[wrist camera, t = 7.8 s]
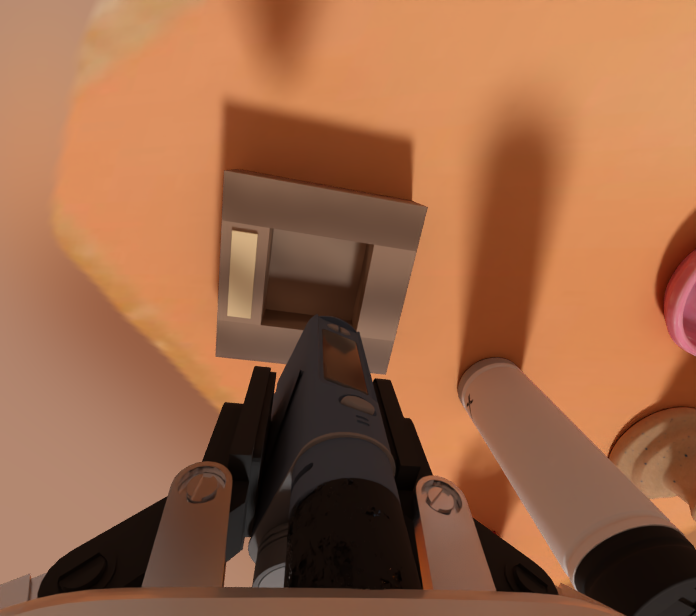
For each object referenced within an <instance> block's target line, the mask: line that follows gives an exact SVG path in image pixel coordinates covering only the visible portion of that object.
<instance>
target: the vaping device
mask: <svg viewBox="0 0 696 616" xmlns="http://www.w3.org/2000/svg"><path fill="white" fill-rule="evenodd" d="M394 476H395V462H394V459H393V457H392V455H391V451H390V447H389V444H388V440H387V436H386V432H385V428H384V424H383V421H382V417H381V413H380V409H379V405H378V401H377V398H376V394H375V390H374V386H373V382H372V378H371V375H370V371H369V367H368V363H367V359H366V355H365V351H364V348H363V344H362V340H361V336H360V332H356V330H355V329H354V328H353V327H352V326H351V325H350V324H349V323H347V322H345V321H343V320H341V319H339V318H336V317H332V316H318V314H316V315H314V316H313V317H312V318H311V319H310V320H309V321H308V323H307V324H306V326H305V328H304V330H303V332H302V334H301V336H300V338H299V340H298V342H297V344H296V346H295V348H294V350H293V352H292V354H291V356H290V358H289V360H288V362H287V364H286V366H285V368H284V370H283V372H282V374H281V376H280V378H279V381H278V383H277V389H276V392H275V393H274V397H273V405H272V413H271V422H270V428H269V434H268V440H267V445H266V451H265V457H264V463H263V469H262V475H261V481H260V482H261V485H260V490H259V496H258V502H257V508H256V514H255V520H254V526H253V532H252V535H251V539H250V541H249V545H248V551H249V555H250V557H251V559H252V560H253V561H254V562H255V564H256V565H255V571H254V578H253V585H252V587H264V588H348V589H350V588H351V589H362V590H366V589H370V590H384V589H385V590H386V589H416V590H422V587H421V583H420V579H419V575H418V571H417V567H416V563H415V559H413V557H414V555H413V552H412V547H411V543H410V539H409V535H408V531H407V527H405V526H406V525H405V519H404V518H403V514H402V513H403V511H402V509H401V503H400V499H399V495H398V491H397V487H396V483H395V479H394ZM396 564H397V565H396ZM393 576H394V577H393ZM400 576H401V577H400ZM401 578H402V580H401ZM396 579H397V580H396Z"/></svg>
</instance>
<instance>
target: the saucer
mask: <svg viewBox="0 0 696 616" xmlns="http://www.w3.org/2000/svg"><path fill="white" fill-rule="evenodd" d="M664 316H665V322H666V325H667V329H668V332H669V334H670V336H671V338H672V340H673V341H674V342H675V343H676V344H677V345H678V346H679V347H680V348H682V349H683V350H685V351H687V352H688V353H690V354H692V355H694V356H696V249H695V250H694V251H692V252H691V253H690V254H689V255H688V256H687V257H686V258H685V259H684V260H683V261H682V262H681V263H680V265H679V266H678V267H677V268H676V270H675V271H674V273H673V275H672V276H671V278H670V280H669V282H668V285H667V288H666V291H665V295H664Z"/></svg>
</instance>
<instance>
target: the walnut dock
mask: <svg viewBox="0 0 696 616" xmlns="http://www.w3.org/2000/svg"><path fill="white" fill-rule="evenodd" d="M427 208H428V207H426V206H424V205H421V204H419V203H416V202H414V201H410V200H404V199H399V198H393V197H388V196H382V195H377V194H371V193H366V192H360V191H354V190H349V189H343V188H338V187H332V186H327V185H321V184H316V183H310V182H305V181H299V180H294V179H288V178H283V177H277V176H272V175H266V174H261V173H255V172H250V171H244V170H239V169H235V170H224V184H223V206H222V228H221V249H220V271H219V293H218V315H217V336H216V357H223V358H233V359H242V360H252V361H261V362H271V363H280V364H287V362H288V360H289V358H290V356H291V354H292V352H293V350H294V348H295V346H296V344H297V342H298V340H299V338H300V336H301V334H302V332H303V330H304V328H305V326H306V324H307V323H308V321H309V320H310V319H311V318H312V317H313V316H314V315H316V314H318V316H332V317H336V318H339V319H341V320H343V321H345V322H347V323H349V324H350V325H351V326H352V327H353V328H354V329H355V330H356V332H360V336H361V340H362V344H363V348H364V351H365V355H366V359H367V363H368V367H369V371H370V373H375V374H385V375H386V372H387V368H388V364H389V360H390V356H391V352H392V348H393V344H394V340H395V336H396V332H397V328H398V324H399V320H400V316H401V312H402V308H403V304H404V300H405V296H406V292H407V288H408V284H409V280H410V276H411V272H412V268H413V264H414V260H415V256H416V252H417V248H418V244H419V240H420V236H421V232H422V228H423V224H424V220H425V216H426V212H427Z"/></svg>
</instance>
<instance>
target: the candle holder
mask: <svg viewBox="0 0 696 616" xmlns="http://www.w3.org/2000/svg"><path fill="white" fill-rule="evenodd" d="M609 460H610V461H611V462H612V463H613V464H614V465H615V466H616V467H617V468H618V469H619V470H620V471H621V472H622V473H623V474H624V475H625V476H626V477H627V478H628V479H629V480H630V481H631V482H632V483H633V484H634V485H635V486H636V487H637V488H638V489H639V490H640V491H641V492H642V493H643V494H644V495H645V496H646V497H647V498H648V499H656V498H669V497H675V496H678V497H680V498H681V499H682V500H684V501H685V502H686V503H687V504H689V507H690V510H691V516H692V517H693V519H694V520H695V521H696V409H695V408H689V407H677V408H670V409H666V410H662V411H659V412H657V413H654V414H652V415H650V416H648V417H646V418H644V419H642V420H641V421H639V422H637V423H636V424H635V425H633V426H632V427H631V428H629V429H628V430H627V431H626V432H625V433H624V434H623V435H622V436H621V438H620V439H619V440H618V441H617V443H616V444H615V446H614V447H613V449H612V451H611V453H610V457H609Z"/></svg>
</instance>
